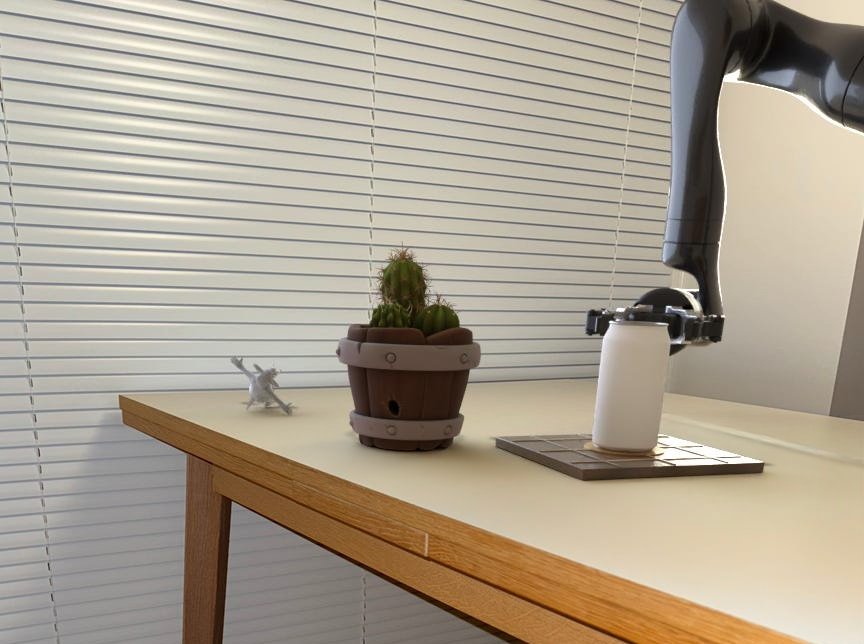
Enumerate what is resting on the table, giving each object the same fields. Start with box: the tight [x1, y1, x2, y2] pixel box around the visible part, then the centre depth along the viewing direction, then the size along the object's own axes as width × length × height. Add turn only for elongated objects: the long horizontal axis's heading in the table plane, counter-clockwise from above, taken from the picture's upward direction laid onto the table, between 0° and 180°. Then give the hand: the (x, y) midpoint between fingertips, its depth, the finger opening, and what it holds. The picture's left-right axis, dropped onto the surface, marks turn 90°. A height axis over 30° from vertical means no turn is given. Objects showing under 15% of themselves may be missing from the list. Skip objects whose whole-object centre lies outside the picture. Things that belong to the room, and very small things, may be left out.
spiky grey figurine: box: [230, 355, 294, 415], centre depth 121 cm, size 10×6×9 cm
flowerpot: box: [335, 242, 482, 451], centre depth 98 cm, size 14×15×20 cm
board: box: [494, 433, 765, 481], centre depth 97 cm, size 20×18×1 cm
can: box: [591, 321, 671, 452], centre depth 95 cm, size 6×6×12 cm
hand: (646, 327), depth 98 cm, fingers open, 8 cm apart
